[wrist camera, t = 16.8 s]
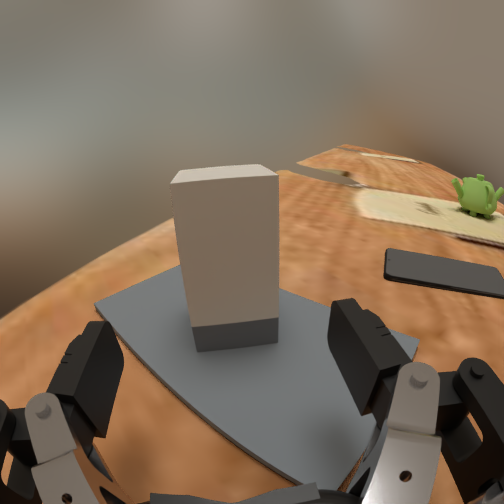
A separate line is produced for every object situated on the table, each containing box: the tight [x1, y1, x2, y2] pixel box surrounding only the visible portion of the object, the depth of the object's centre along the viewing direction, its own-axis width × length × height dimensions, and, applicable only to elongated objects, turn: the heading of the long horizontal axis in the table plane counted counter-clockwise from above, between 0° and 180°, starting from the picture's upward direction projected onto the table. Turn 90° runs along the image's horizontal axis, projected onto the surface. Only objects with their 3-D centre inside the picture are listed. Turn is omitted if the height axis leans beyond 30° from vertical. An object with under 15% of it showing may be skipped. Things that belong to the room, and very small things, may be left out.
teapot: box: [451, 174, 504, 219], centre depth 44 cm, size 11×12×8 cm
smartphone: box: [384, 248, 504, 299], centre depth 24 cm, size 7×1×15 cm
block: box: [170, 164, 279, 352], centre depth 17 cm, size 5×5×10 cm
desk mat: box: [94, 265, 420, 490], centre depth 18 cm, size 22×12×1 cm, turn 48°
